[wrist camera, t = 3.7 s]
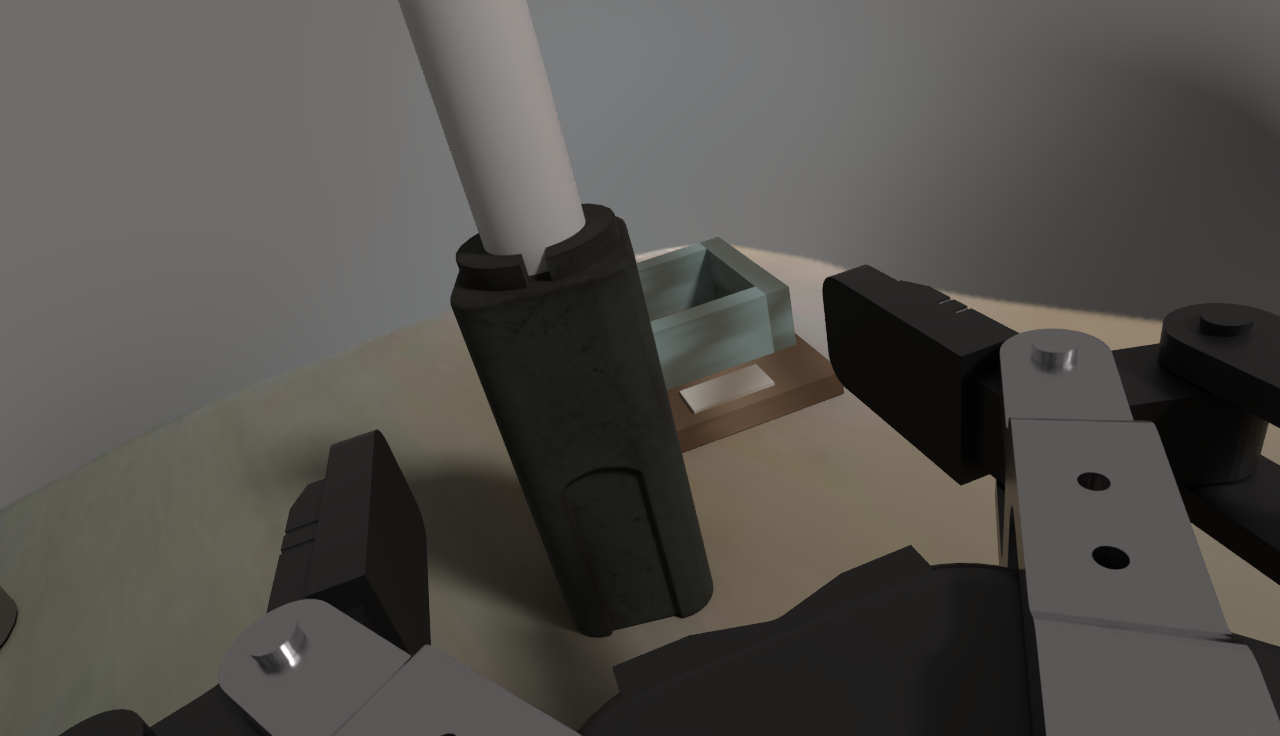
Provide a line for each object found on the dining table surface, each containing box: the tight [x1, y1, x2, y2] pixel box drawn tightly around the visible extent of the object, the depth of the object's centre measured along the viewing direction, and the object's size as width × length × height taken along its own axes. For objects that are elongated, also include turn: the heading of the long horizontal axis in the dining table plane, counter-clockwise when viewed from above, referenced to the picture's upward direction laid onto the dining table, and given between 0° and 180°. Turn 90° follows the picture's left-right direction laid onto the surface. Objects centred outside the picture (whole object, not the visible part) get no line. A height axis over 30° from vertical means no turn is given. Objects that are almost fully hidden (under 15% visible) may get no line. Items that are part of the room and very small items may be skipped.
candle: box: [398, 0, 713, 637], centre depth 21 cm, size 5×5×25 cm
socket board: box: [636, 237, 844, 452], centre depth 39 cm, size 13×18×4 cm
